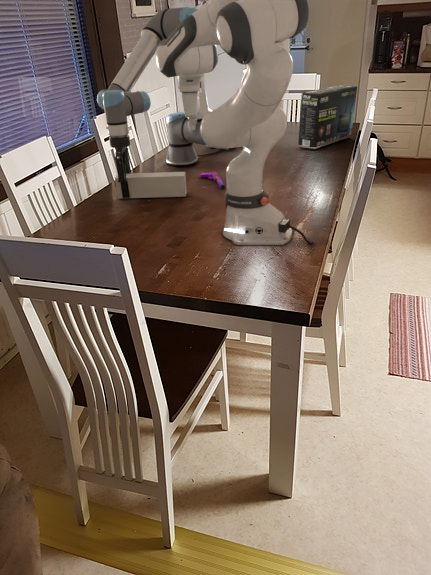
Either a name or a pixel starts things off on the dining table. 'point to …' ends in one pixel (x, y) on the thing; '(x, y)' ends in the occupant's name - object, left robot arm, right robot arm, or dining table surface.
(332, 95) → the router box
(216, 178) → the handgun
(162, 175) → the bar
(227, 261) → the dining table surface
